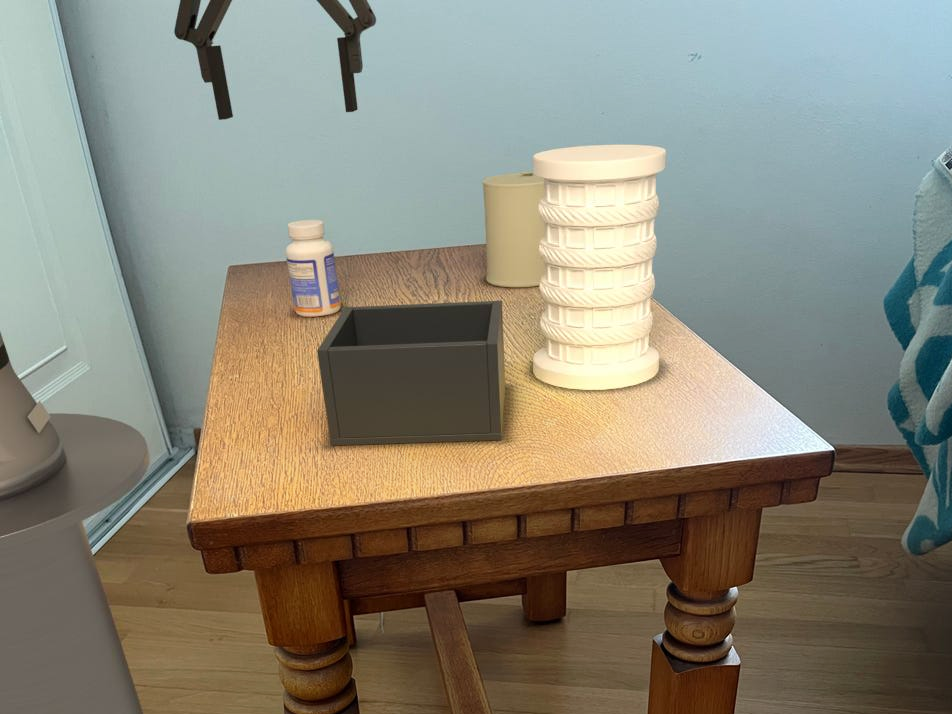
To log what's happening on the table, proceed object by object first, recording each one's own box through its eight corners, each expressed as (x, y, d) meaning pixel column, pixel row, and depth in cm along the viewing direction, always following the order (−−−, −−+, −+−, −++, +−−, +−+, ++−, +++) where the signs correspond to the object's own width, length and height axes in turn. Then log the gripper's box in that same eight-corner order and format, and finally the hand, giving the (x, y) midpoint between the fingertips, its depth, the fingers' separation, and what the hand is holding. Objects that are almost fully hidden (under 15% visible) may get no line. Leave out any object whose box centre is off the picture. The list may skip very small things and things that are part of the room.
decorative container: (669, 386, 82) (683, 157, 72) (537, 393, 82) (533, 165, 72) (647, 347, 92) (657, 140, 82) (529, 354, 92) (525, 148, 82)
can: (566, 271, 121) (566, 167, 114) (549, 288, 114) (548, 179, 107) (498, 269, 124) (494, 169, 117) (477, 286, 116) (471, 180, 110)
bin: (331, 445, 75) (316, 350, 70) (355, 393, 85) (344, 307, 81) (501, 440, 74) (497, 343, 70) (505, 387, 84) (502, 300, 80)
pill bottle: (328, 303, 114) (316, 216, 108) (349, 311, 110) (338, 221, 104) (287, 311, 111) (273, 223, 106) (307, 320, 107) (293, 229, 102)
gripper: (388, -152, 89) (410, 104, 101) (135, -130, 91) (186, 118, 103) (375, -164, 83) (400, 111, 95) (104, -140, 85) (162, 125, 97)
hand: (288, 115), depth 99 cm, fingers open, 13 cm apart
